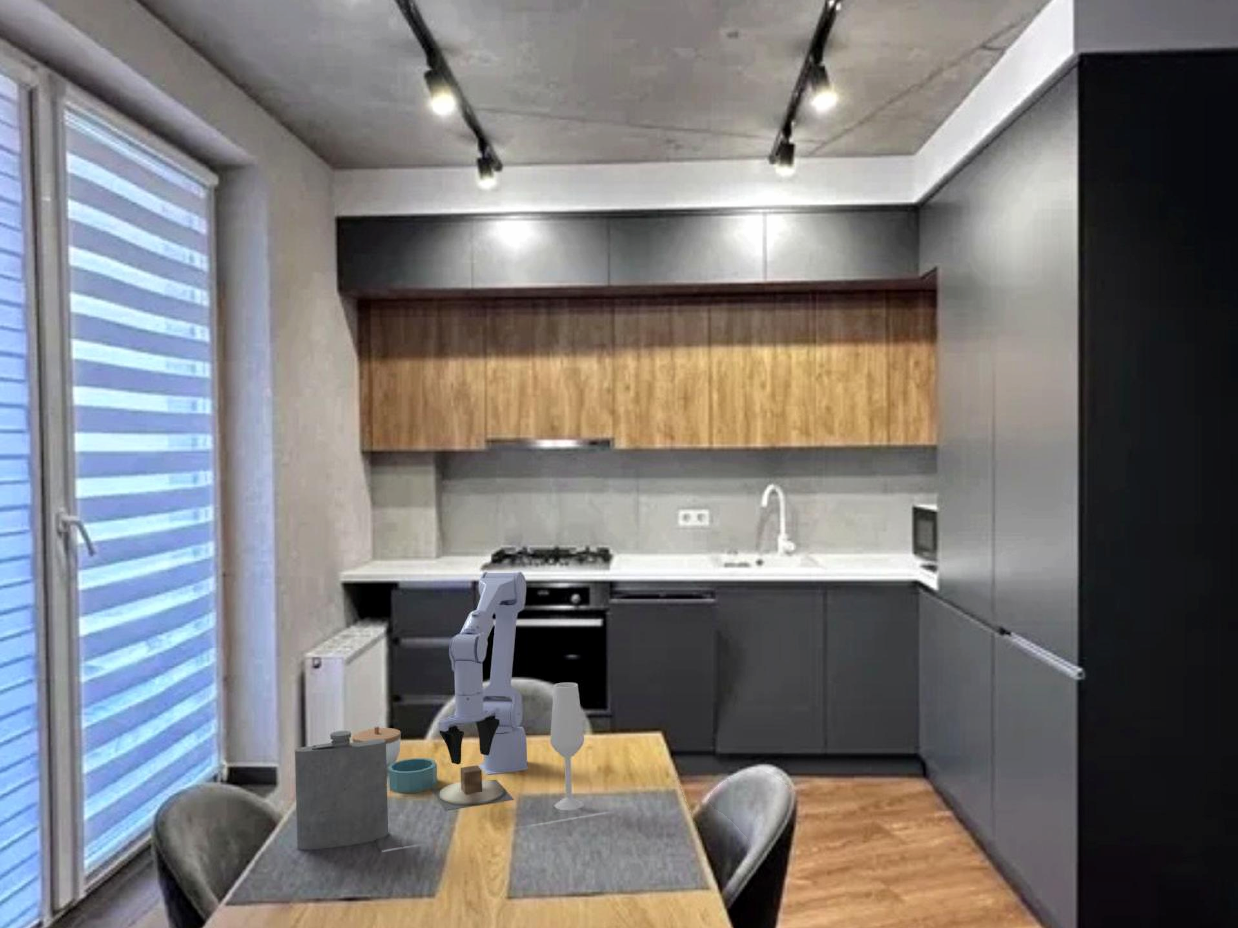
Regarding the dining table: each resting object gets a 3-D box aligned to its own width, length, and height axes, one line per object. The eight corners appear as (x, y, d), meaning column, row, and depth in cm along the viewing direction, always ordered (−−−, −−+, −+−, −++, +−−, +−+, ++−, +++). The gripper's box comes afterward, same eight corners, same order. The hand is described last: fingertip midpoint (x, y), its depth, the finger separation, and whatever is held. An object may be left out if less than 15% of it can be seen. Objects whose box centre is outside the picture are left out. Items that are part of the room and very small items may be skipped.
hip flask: (387, 832, 176) (385, 724, 176) (389, 840, 172) (386, 730, 173) (297, 844, 172) (294, 733, 172) (296, 852, 168) (293, 739, 168)
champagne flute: (592, 803, 189) (588, 682, 189) (574, 814, 183) (571, 689, 183) (563, 798, 192) (560, 680, 192) (545, 809, 186) (542, 687, 186)
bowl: (431, 776, 209) (431, 755, 209) (440, 789, 200) (440, 768, 200) (385, 782, 205) (384, 762, 205) (392, 796, 196) (392, 775, 196)
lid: (494, 780, 204) (493, 756, 204) (510, 798, 192) (510, 772, 192) (434, 789, 199) (433, 764, 199) (446, 809, 187) (446, 782, 187)
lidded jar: (394, 774, 211) (393, 732, 211) (347, 775, 211) (346, 733, 211) (406, 760, 222) (405, 720, 222) (361, 761, 222) (360, 721, 222)
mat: (496, 781, 204) (496, 779, 204) (513, 801, 191) (513, 799, 191) (431, 790, 199) (431, 789, 199) (444, 812, 186) (444, 810, 186)
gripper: (483, 683, 204) (485, 747, 203) (428, 696, 193) (430, 763, 192) (505, 687, 199) (507, 752, 199) (450, 701, 188) (452, 769, 188)
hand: (470, 758), depth 195 cm, fingers open, 7 cm apart
